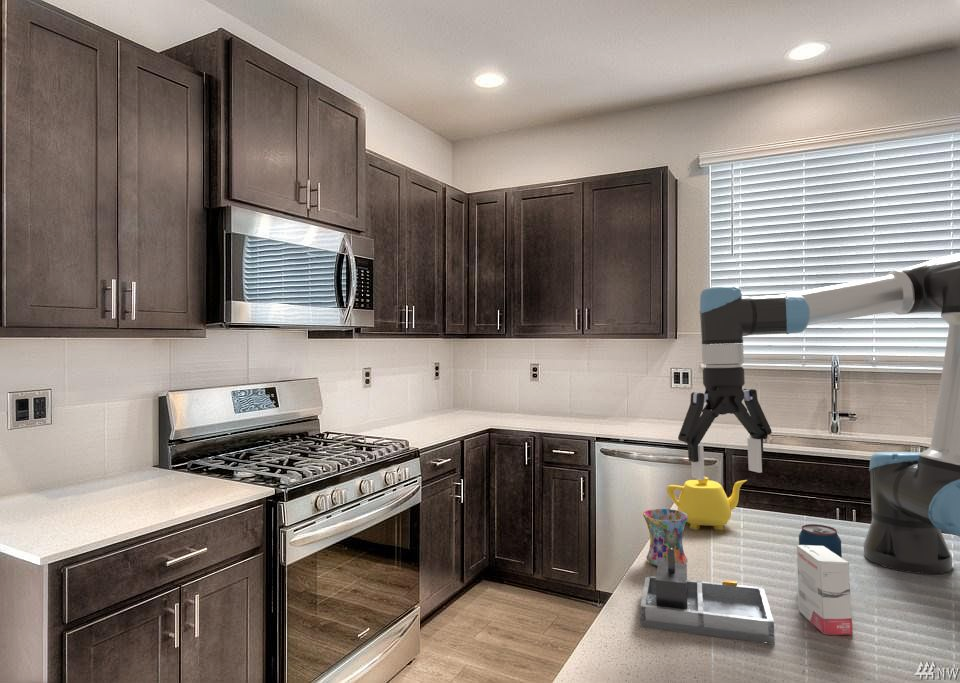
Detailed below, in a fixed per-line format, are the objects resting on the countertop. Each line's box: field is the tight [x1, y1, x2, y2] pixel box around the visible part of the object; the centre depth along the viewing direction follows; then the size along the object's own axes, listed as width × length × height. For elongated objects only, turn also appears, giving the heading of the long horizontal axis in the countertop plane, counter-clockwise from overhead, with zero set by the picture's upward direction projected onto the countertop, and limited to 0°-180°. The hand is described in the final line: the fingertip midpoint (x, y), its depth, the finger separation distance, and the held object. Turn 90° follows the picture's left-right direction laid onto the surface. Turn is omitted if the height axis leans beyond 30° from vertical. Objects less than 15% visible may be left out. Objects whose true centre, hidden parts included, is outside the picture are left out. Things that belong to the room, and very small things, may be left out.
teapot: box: [666, 476, 748, 531], centre depth 151 cm, size 13×20×12 cm
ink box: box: [796, 544, 854, 636], centre depth 97 cm, size 9×5×12 cm, turn 175°
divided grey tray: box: [640, 548, 776, 645], centre depth 101 cm, size 20×14×11 cm
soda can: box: [798, 523, 843, 559], centre depth 109 cm, size 7×7×12 cm
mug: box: [642, 508, 688, 567], centre depth 127 cm, size 12×9×11 cm
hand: (727, 475), depth 112 cm, fingers open, 13 cm apart
